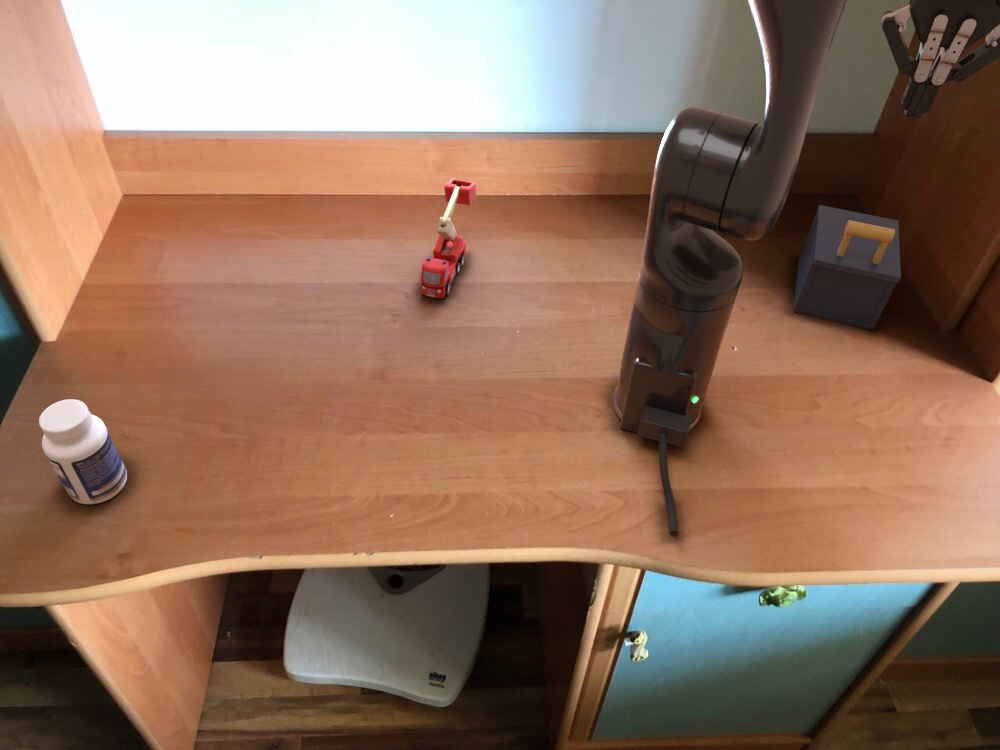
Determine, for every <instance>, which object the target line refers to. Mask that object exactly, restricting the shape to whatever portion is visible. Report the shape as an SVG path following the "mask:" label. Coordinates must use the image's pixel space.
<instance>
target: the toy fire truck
mask: <svg viewBox="0 0 1000 750" xmlns="http://www.w3.org/2000/svg"><path fill="white" fill-rule="evenodd" d="M476 195H477V184H476V182H475V181H468V180H463V179H458V178H457V179H456V178H451V179H449V180H448V181H447V182H446V183H445V185H444V197H445V202H447V203H448V204H447V206H446V209H445V211H444V214H443V216H440V217H439V221H438V226H437V229H436V233H437V234H438V236H437V239H436V242H435V245H434V247H433V250H432V253H433V255H432V256H433V257H430V256H427V257H425V259H424V260H423V262H422V266H421V271H420V292H421V294H422V295H424V296H426V297H429V298H435V299H444V298H445V297H446V295H449V294H450V292H451V285H452V283H453V281H454V279H455V277H456V275H457V274H459V273H460V270H461V267H463V266H464V263H465V257H466V255H467V242H466V241H464V237H463V236H458V232H457V231H456V228H455V226H454V223H453V221H452V219H451V218H452V215H453V214H454V211H455V208H456V206H457V204H458V205H465V206H471V205H472V203H473V201H474V198H476Z"/></svg>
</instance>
